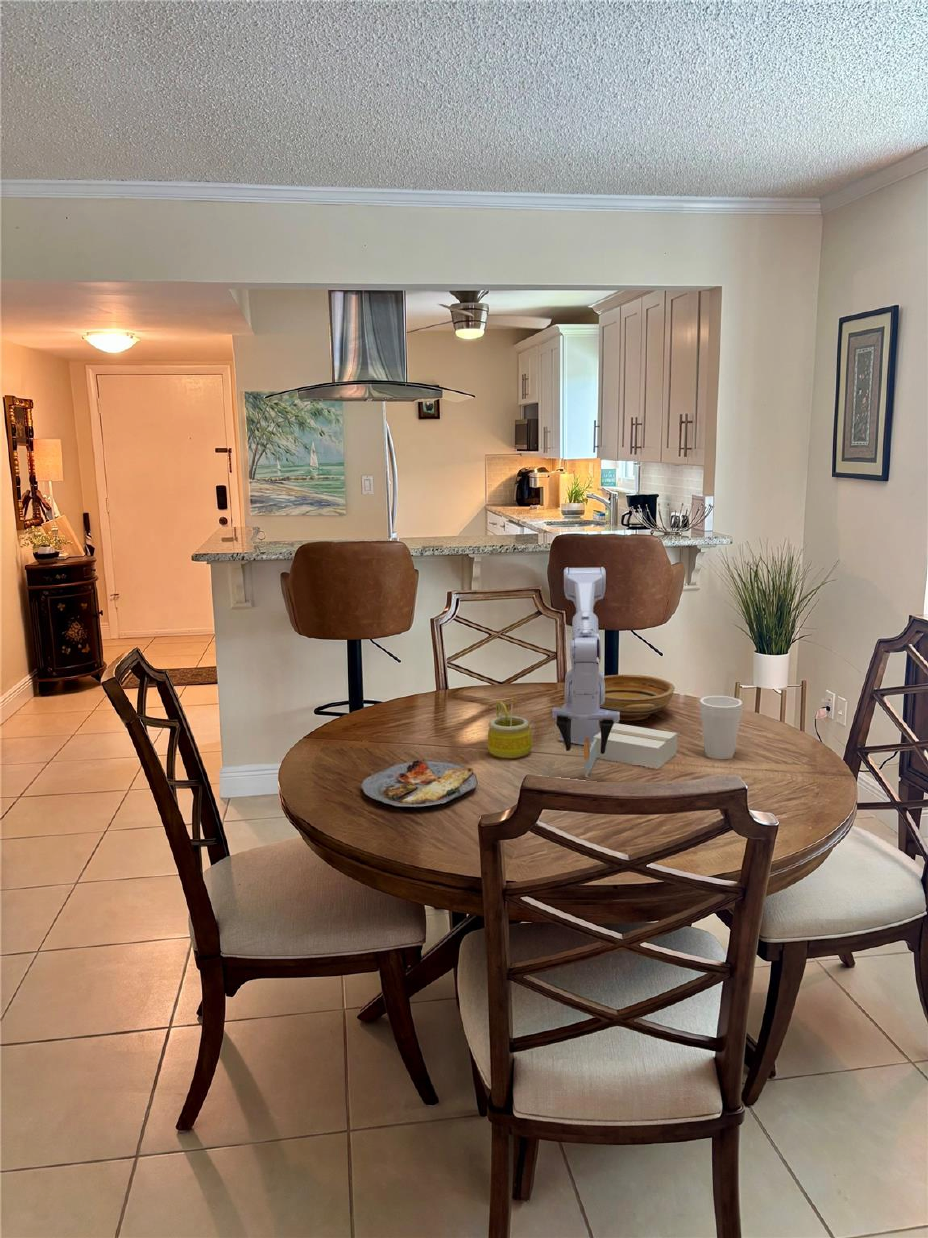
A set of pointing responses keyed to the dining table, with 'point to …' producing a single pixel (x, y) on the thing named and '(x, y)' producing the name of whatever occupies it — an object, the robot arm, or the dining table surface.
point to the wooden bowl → (636, 695)
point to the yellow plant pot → (509, 735)
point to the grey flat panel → (589, 754)
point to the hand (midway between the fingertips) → (585, 750)
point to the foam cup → (720, 725)
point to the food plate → (420, 783)
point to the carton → (638, 746)
